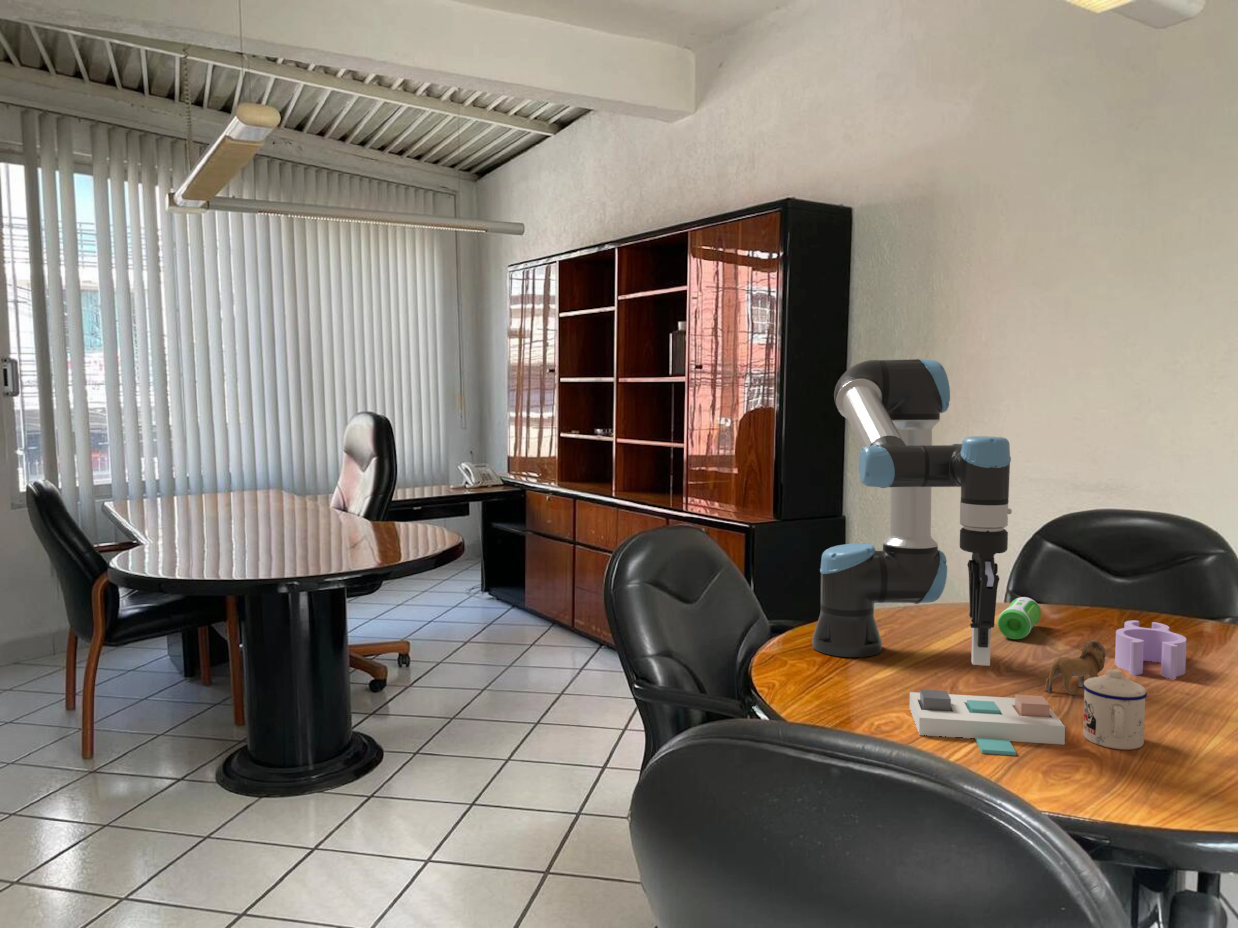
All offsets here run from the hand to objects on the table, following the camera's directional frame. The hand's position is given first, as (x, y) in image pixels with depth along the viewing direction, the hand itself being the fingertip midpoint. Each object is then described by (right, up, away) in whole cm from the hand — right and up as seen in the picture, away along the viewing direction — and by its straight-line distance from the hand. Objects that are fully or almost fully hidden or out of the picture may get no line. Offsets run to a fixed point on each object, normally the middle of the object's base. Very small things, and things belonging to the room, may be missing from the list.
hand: (980, 663), depth 149 cm
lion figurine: (+26, -9, +18) cm, 33 cm away
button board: (0, -11, 0) cm, 11 cm away
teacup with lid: (+18, -11, -8) cm, 23 cm away
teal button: (0, -10, 0) cm, 10 cm away
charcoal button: (-7, -9, +1) cm, 12 cm away
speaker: (+34, -7, +59) cm, 68 cm away
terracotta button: (+8, -9, -2) cm, 12 cm away
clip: (+49, -8, +34) cm, 60 cm away
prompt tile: (-2, -11, -10) cm, 15 cm away
